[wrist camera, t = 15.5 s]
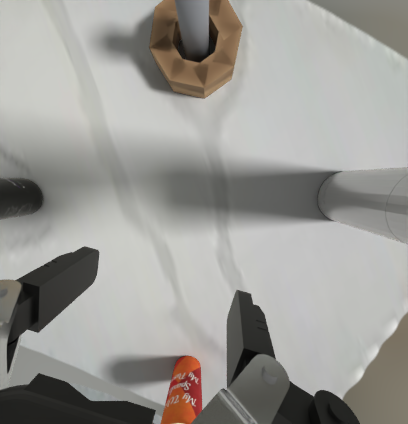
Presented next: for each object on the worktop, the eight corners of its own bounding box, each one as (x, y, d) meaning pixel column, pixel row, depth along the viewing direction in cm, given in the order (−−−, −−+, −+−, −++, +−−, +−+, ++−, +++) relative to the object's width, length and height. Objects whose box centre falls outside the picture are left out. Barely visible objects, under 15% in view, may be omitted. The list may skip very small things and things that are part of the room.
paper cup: (197, 346, 42) (192, 428, 28) (210, 376, 43) (212, 468, 29) (164, 357, 43) (142, 443, 29) (177, 386, 44) (163, 481, 30)
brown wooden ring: (243, 19, 32) (248, -4, 28) (226, 103, 34) (228, 93, 30) (165, 1, 32) (159, -24, 28) (152, 87, 34) (145, 74, 30)
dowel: (210, 43, 33) (213, -55, 19) (206, 69, 34) (204, -8, 20) (187, 38, 33) (172, -64, 19) (182, 64, 34) (165, -17, 20)
